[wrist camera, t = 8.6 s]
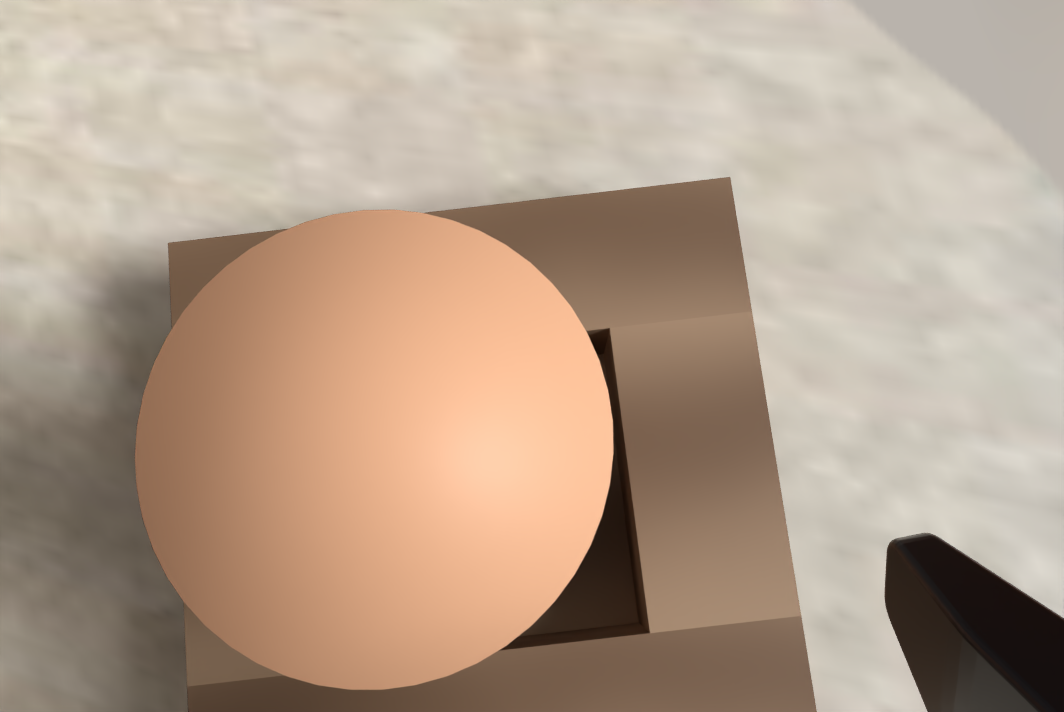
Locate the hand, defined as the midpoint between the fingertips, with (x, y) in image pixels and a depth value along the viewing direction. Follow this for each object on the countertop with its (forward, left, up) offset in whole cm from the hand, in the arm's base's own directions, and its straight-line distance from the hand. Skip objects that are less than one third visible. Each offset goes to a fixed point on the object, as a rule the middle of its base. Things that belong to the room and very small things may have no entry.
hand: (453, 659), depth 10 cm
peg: (+2, 0, -10) cm, 11 cm away
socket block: (+2, 0, -11) cm, 11 cm away
